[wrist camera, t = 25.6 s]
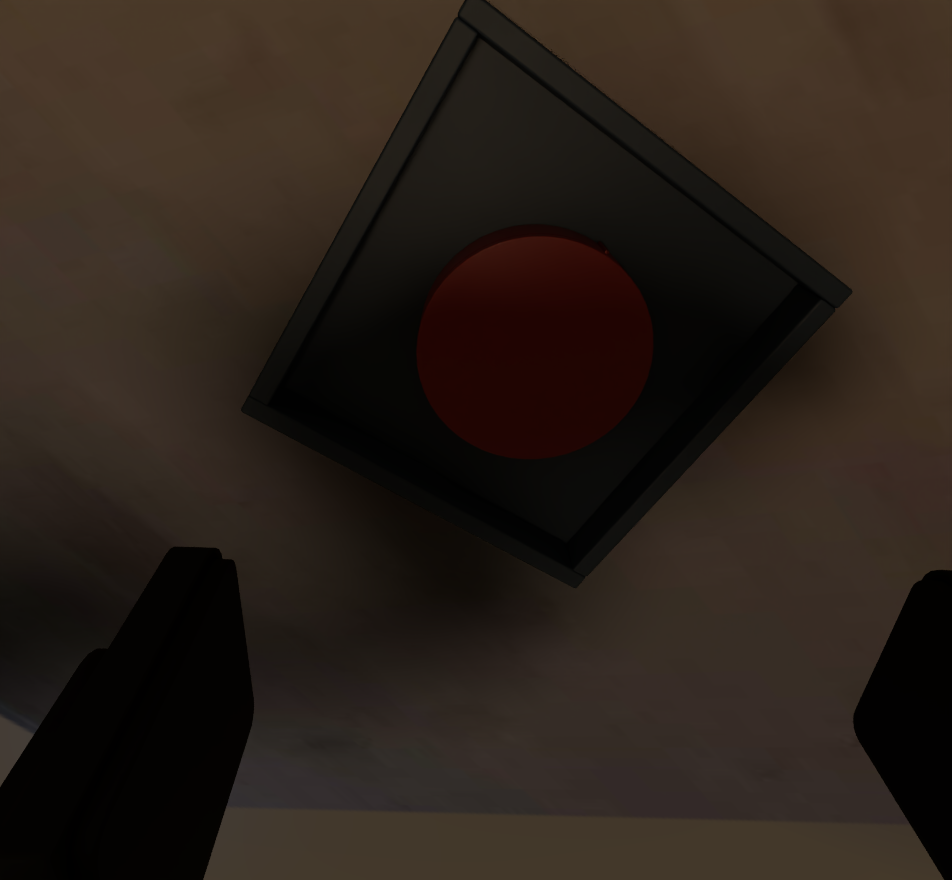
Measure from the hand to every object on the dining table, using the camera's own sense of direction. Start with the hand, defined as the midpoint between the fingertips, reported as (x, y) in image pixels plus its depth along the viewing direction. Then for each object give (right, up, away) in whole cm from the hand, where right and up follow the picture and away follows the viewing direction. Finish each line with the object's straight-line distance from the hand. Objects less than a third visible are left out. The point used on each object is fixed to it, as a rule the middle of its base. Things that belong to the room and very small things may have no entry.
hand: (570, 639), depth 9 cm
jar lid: (0, +5, +9) cm, 11 cm away
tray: (0, +6, +11) cm, 13 cm away
